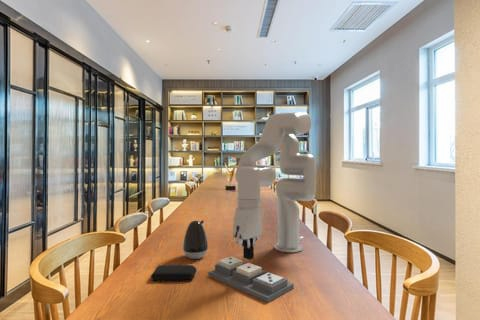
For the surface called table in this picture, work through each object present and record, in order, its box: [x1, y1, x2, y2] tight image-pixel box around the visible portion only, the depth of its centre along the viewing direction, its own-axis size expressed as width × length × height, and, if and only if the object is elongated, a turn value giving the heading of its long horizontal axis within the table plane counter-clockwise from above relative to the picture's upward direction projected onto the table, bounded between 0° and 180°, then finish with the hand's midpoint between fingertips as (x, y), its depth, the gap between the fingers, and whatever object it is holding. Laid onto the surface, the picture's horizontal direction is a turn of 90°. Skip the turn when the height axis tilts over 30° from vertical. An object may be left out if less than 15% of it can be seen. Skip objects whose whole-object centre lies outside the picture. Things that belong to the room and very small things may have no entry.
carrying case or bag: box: [150, 264, 197, 282], centre depth 107 cm, size 11×3×15 cm
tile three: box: [257, 272, 284, 286], centre depth 96 cm, size 6×6×2 cm
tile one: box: [236, 262, 263, 277], centre depth 102 cm, size 6×6×2 cm
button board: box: [208, 262, 295, 303], centre depth 102 cm, size 13×27×4 cm, turn 45°
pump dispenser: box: [182, 220, 209, 260], centre depth 126 cm, size 10×10×15 cm
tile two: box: [218, 256, 243, 269], centre depth 109 cm, size 6×6×2 cm
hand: (248, 258), depth 102 cm, fingers closed
